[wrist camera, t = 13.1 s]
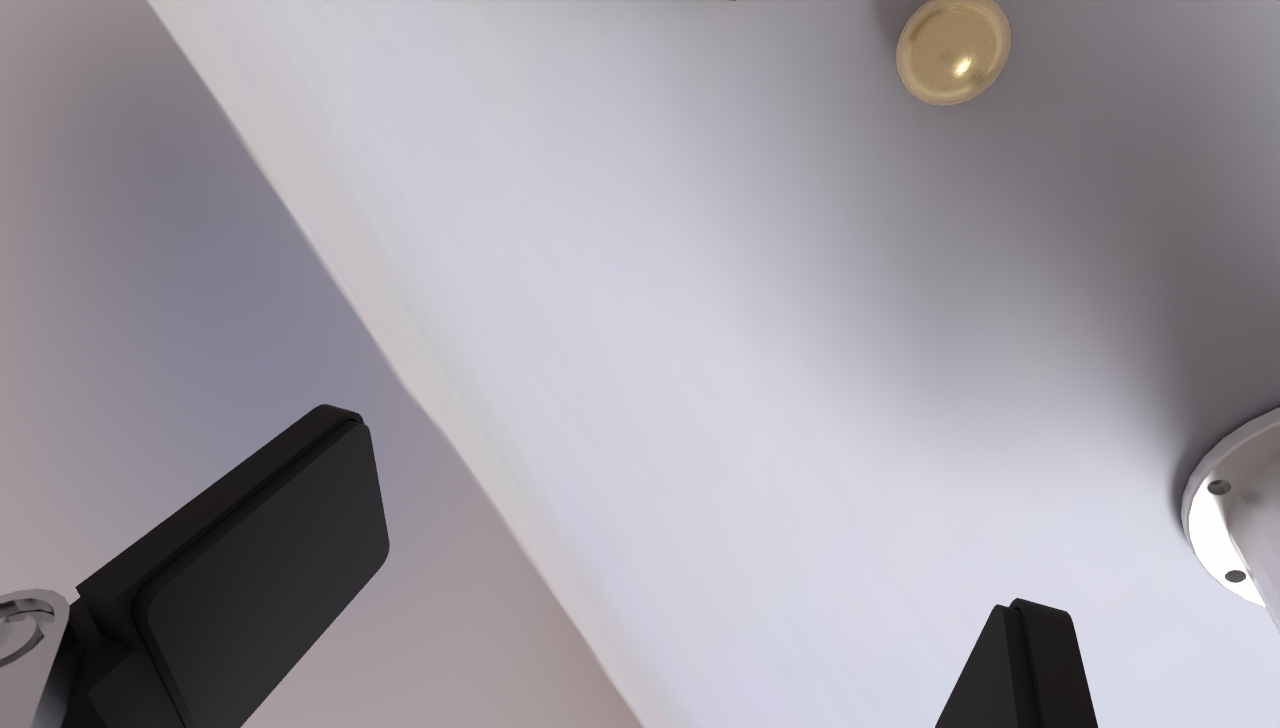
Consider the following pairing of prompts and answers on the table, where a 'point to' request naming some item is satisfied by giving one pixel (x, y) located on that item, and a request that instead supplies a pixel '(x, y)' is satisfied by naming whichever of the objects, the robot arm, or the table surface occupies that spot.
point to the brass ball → (953, 50)
